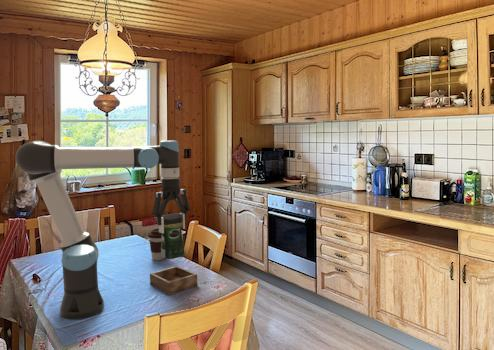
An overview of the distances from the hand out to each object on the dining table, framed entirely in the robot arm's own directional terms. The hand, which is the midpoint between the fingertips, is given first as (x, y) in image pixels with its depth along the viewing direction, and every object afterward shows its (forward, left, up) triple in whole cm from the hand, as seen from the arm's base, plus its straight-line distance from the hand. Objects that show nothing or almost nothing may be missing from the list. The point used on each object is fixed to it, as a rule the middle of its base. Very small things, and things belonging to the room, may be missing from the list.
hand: (172, 230), depth 174 cm
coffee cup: (+15, +36, -24) cm, 46 cm away
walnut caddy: (0, 0, -24) cm, 24 cm away
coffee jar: (0, +1, -12) cm, 12 cm away
